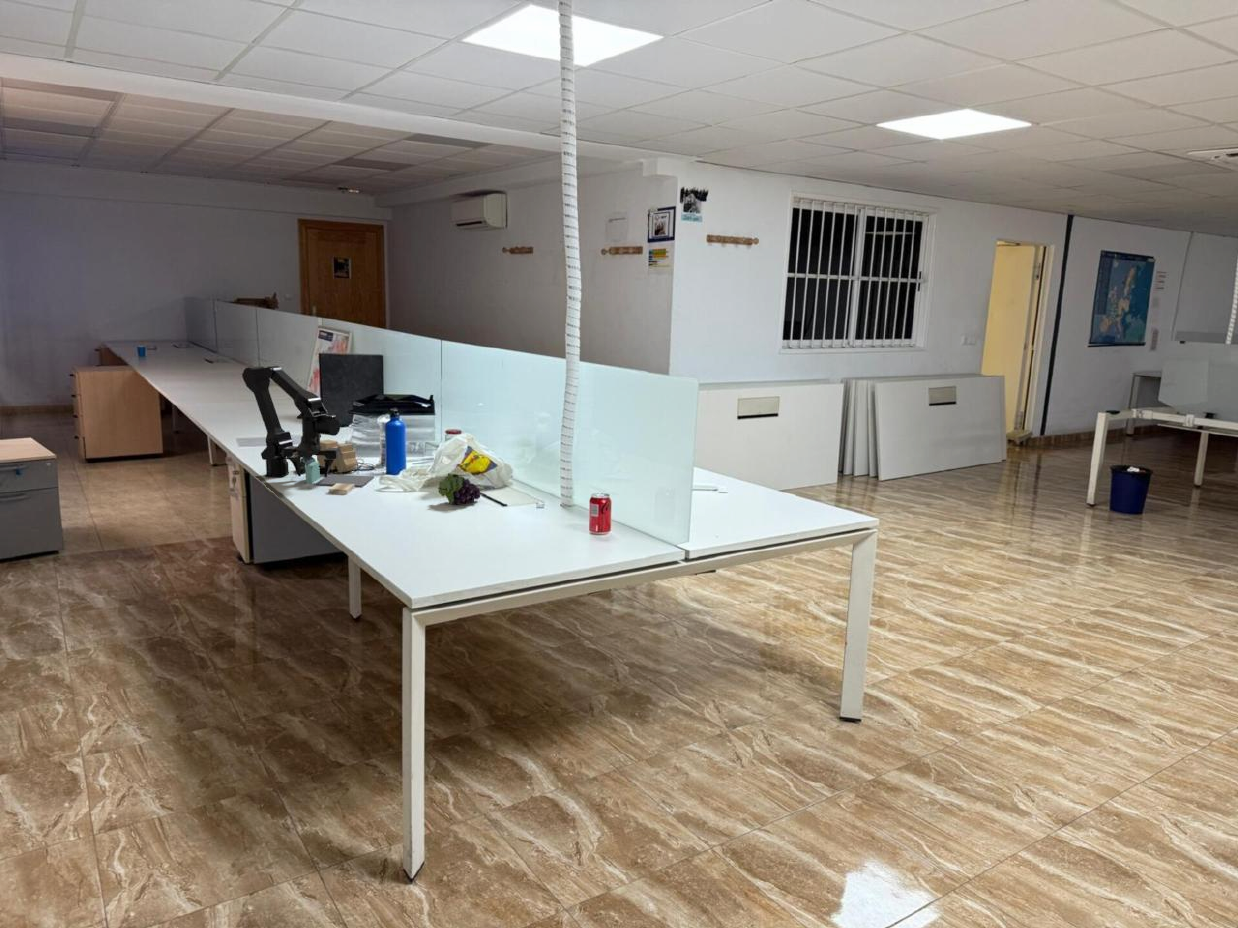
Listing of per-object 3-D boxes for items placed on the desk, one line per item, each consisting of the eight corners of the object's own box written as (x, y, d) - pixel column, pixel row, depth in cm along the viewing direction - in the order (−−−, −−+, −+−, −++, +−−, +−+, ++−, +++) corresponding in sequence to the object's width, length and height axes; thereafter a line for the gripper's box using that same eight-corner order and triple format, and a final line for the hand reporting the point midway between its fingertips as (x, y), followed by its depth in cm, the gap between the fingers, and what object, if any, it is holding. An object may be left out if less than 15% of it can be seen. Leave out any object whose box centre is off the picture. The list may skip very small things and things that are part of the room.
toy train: (346, 474, 315) (345, 447, 313) (315, 467, 324) (314, 440, 322) (358, 471, 320) (357, 445, 318) (327, 464, 329) (326, 438, 326)
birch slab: (328, 494, 288) (328, 489, 287) (336, 489, 296) (336, 483, 295) (346, 495, 288) (346, 489, 287) (354, 489, 296) (354, 484, 295)
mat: (315, 485, 297) (315, 483, 297) (329, 476, 311) (329, 474, 311) (362, 487, 297) (362, 485, 297) (373, 477, 311) (373, 476, 311)
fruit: (481, 512, 284) (442, 507, 274) (465, 499, 292) (426, 494, 282) (491, 483, 282) (452, 477, 272) (475, 471, 290) (436, 465, 280)
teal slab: (305, 483, 299) (305, 466, 298) (314, 478, 307) (313, 461, 306) (311, 483, 299) (311, 466, 298) (319, 478, 307) (319, 462, 306)
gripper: (274, 435, 292) (276, 480, 295) (330, 438, 292) (331, 483, 295) (287, 429, 303) (289, 473, 306) (341, 432, 303) (342, 475, 306)
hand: (312, 476), depth 303 cm, fingers open, 9 cm apart
